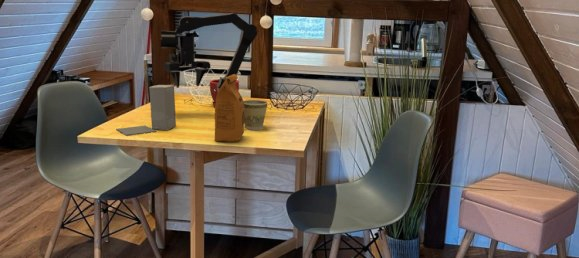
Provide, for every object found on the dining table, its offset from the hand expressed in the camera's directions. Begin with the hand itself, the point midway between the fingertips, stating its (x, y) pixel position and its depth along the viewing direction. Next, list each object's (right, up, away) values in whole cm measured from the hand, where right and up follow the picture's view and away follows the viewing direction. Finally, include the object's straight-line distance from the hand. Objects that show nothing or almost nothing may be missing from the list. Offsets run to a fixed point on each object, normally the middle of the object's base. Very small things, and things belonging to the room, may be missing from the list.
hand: (187, 87), depth 211 cm
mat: (-14, -18, -25) cm, 33 cm away
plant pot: (+12, -7, +25) cm, 29 cm away
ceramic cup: (+29, -17, -13) cm, 36 cm away
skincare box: (-5, -17, -18) cm, 26 cm away
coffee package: (+21, -21, -31) cm, 43 cm away
